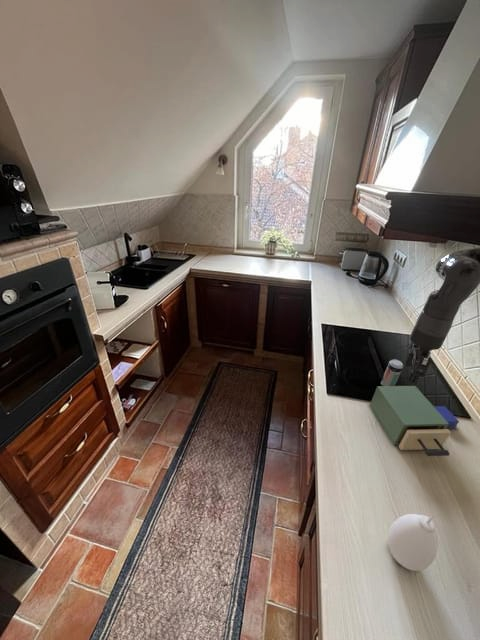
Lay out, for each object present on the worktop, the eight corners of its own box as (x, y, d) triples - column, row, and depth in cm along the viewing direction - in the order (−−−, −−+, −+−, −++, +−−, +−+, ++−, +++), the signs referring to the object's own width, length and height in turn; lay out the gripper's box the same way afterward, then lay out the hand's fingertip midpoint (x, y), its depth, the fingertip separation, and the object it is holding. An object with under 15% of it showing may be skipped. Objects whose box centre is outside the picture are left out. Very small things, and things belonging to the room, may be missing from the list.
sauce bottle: (416, 590, 52) (455, 554, 43) (376, 555, 56) (404, 516, 47) (424, 554, 57) (461, 515, 48) (387, 525, 61) (414, 484, 52)
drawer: (452, 465, 74) (465, 448, 70) (410, 466, 73) (421, 449, 69) (410, 410, 91) (418, 394, 87) (376, 411, 90) (383, 395, 86)
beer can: (383, 379, 106) (393, 357, 100) (395, 386, 103) (406, 363, 97) (378, 384, 103) (387, 361, 97) (390, 391, 100) (401, 368, 94)
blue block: (428, 412, 91) (432, 406, 89) (440, 412, 91) (444, 406, 90) (442, 428, 86) (446, 421, 84) (454, 428, 86) (459, 421, 84)
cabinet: (435, 444, 80) (449, 423, 76) (393, 445, 80) (404, 424, 75) (405, 405, 94) (415, 385, 89) (369, 405, 93) (377, 386, 89)
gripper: (453, 345, 62) (427, 393, 70) (442, 320, 73) (421, 364, 81) (418, 337, 65) (397, 384, 73) (412, 314, 76) (395, 357, 84)
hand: (410, 373), depth 77 cm, fingers open, 8 cm apart
